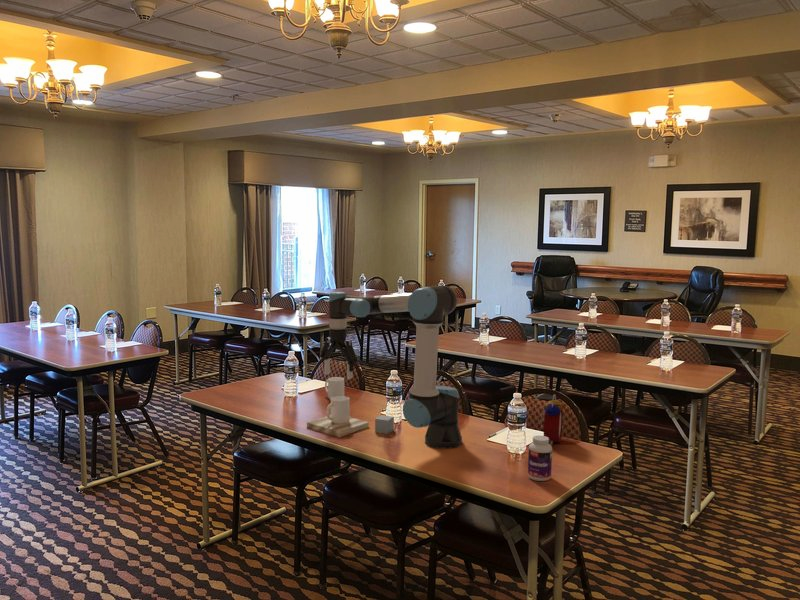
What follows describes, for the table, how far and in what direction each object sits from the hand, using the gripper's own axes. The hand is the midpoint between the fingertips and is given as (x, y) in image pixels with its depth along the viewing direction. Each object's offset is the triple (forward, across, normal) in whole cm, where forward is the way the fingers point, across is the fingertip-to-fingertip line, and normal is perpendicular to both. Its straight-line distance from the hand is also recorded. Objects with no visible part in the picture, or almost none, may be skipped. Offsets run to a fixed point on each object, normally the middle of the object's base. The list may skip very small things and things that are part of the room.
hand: (338, 376), depth 275 cm
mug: (+20, 0, +1) cm, 21 cm away
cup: (+23, +36, -34) cm, 55 cm away
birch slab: (+23, 0, 0) cm, 23 cm away
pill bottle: (+23, -94, -3) cm, 97 cm away
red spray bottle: (+23, -80, -41) cm, 93 cm away
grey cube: (+23, -19, -9) cm, 31 cm away
